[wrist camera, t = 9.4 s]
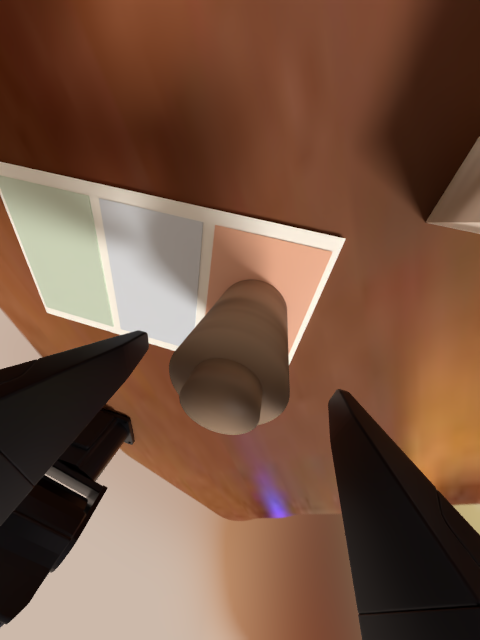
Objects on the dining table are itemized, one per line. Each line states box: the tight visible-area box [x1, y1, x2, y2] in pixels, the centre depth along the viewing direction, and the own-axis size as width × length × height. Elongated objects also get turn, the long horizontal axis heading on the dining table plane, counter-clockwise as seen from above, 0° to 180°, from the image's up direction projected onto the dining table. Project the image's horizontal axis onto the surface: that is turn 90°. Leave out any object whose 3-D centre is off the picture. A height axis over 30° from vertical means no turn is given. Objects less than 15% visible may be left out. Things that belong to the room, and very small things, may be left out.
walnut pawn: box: [169, 279, 290, 435], centre depth 10 cm, size 5×5×8 cm
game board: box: [0, 162, 345, 364], centre depth 14 cm, size 12×24×1 cm, turn 79°
